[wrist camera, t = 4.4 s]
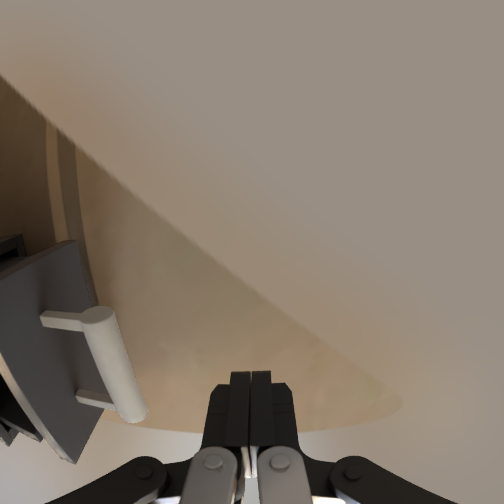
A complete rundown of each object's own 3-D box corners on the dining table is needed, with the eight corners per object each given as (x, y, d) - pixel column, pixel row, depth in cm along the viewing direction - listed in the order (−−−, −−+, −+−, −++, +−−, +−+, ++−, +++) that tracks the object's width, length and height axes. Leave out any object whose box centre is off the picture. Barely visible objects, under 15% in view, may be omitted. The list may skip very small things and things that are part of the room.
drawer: (141, 234, 13) (44, 300, 6) (175, 388, 16) (144, 485, 9) (-23, 249, 14) (-87, 283, 6) (14, 358, 17) (-31, 406, 9)
